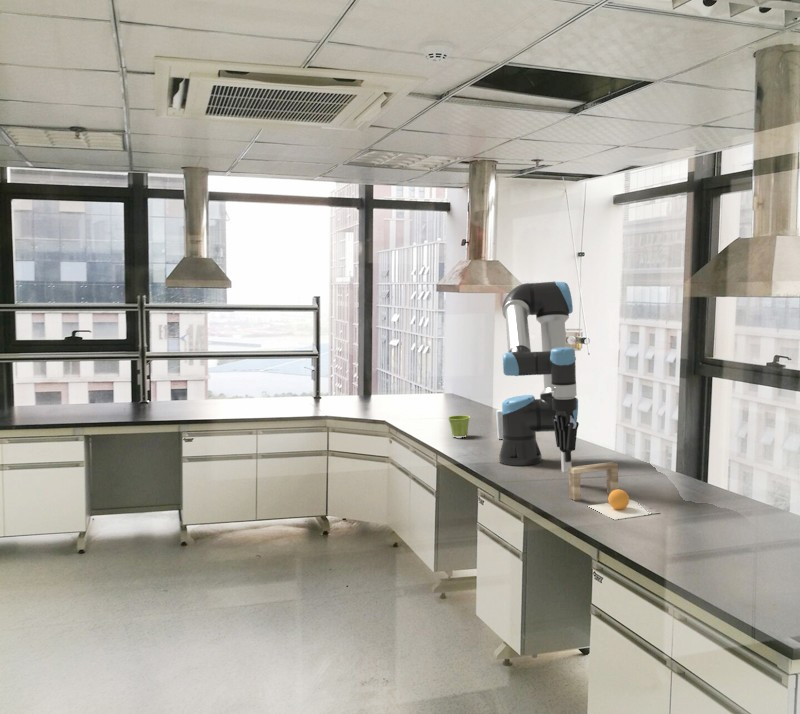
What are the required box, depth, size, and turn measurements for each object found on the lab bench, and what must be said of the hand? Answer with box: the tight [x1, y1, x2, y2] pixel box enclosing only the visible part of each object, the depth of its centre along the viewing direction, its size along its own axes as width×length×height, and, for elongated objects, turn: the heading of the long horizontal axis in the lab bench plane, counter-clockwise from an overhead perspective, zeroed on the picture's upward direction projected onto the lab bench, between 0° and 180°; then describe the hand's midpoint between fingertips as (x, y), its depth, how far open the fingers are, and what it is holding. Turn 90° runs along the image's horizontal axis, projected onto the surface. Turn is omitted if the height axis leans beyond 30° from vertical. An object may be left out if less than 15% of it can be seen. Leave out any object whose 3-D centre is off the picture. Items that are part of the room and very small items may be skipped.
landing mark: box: [587, 499, 651, 521], centre depth 207 cm, size 14×14×1 cm
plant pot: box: [447, 414, 471, 436], centre depth 321 cm, size 9×9×9 cm
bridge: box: [568, 461, 619, 501], centre depth 221 cm, size 3×14×9 cm, turn 106°
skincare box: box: [495, 409, 503, 440], centre depth 313 cm, size 6×4×12 cm
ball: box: [607, 488, 630, 510], centre depth 207 cm, size 6×6×6 cm
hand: (566, 471), depth 237 cm, fingers closed
